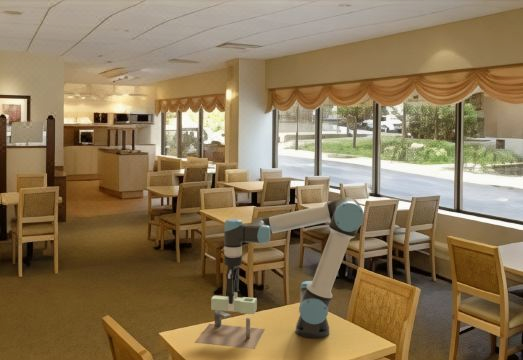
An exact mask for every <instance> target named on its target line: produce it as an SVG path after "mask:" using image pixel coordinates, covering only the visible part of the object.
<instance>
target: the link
mask: <svg viewBox="0 0 523 360" xmlns="http://www.w3.org/2000/svg"><path fill="white" fill-rule="evenodd" d="M257 298H258V297H246V296H243V297H238V296H237V297H235V310H234V311H231V312H234V313H239V314H248V315H255V313H256V311H257V310H258V307H257V306H258V299H257ZM210 302H211V303H210V305H211V307H210V308H211V309H210V310H211V311H216V310H217V311H222V312H230V311H229V310H228V296H226V295H225V296H224V295H213V296H212V297H211V298H210Z"/></svg>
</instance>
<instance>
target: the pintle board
mask: <svg viewBox="0 0 523 360" xmlns="http://www.w3.org/2000/svg"><path fill="white" fill-rule="evenodd" d="M231 316H232V314H229V313H228V312H226V311H220V310H214V323H209V324H208V325H207V327H205V328H204V330H203V331H202V333H200V335H199V336H198V337H197V338H196V340H195V341H194V343H195V344H205V345H213V346H222V347H234V348H241V349H251V350H252V349H253V350H255V349H256V347H257V345H258V343H259V341H260V339H261V338H262V336H263V334H264V331H265V330H266V328H259V327H258V328H257V327H251V318H250V317H246V318H245V326H239V325H238V326H237V325H229V324H227V325H226V324H222V318H224V319H229V318H231Z"/></svg>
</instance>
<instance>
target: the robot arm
mask: <svg viewBox="0 0 523 360" xmlns="http://www.w3.org/2000/svg"><path fill="white" fill-rule="evenodd" d="M364 217H365V215H364V210H363V208H362V206H361V205H360V203H359V202H358V201H357V200H356V199H354V198H353V197H349V196H348V197H347V196H345V197H340V198H337V199H334V200H330V201H325V203H324V204H322V205H319V206H314V207H309V208H305V209H299V210H295V211H292V212H287V213H283V214H276V215H273V216H269V217H258V218H256V219H254V220H253V221H252V223H251V224H245V223H244V224H243V220H242V219H240V218H229V219H226V220H225V221H224V230H223V233H224V235H223V236H224V237H223V238H224V239H223V243H224V247H223V248H222V249H223V250H224V252H223V253H224V256H223V262H224V263H223V264H224V265H225V266H227V267H228V269H227V271H226V274H225V276H226V294H225V296H226V297H228V310H229V311H228V312H232V311H234V310H235V297H238V292H240V289H239V288H240V287H239V286H240V284H239V283H240V266H241V265H242V263H243V261H242V260H243V256H242V255H243V243H251V244H268V243H270V242H271V235H272V234H276V233H281V232H285V231H291V230H295V229H300V228H305V227H310V226H315V225H320V224H323V223H329V224H328V228H329V230H330V233H329V234H328V238H327V241H326V244H325V246H324V249H323V251H322V254H321V257H320V259H319V262H318V264H317V267H316V270H315V272H314V277H312V278H313V279H312V280H306V281H302V282H301V284H300V288H299V289H300V298H299V300H300V301H299V306H298V307H299V316H298V319H297V322H296V325H295V333H296V334H297V335H299V336H301V337H304V338H308V339H321V338H325V337H328V336H329V335H330V325H329V322H328V318H327V317H328V314H329V307H330V304H331V302H332V300H333V296H334V295H333V293H332V289H333V286H334V283H335V281H336V277H337V275H338V273H339V269H340V267H341V264H342V262H343V260H344V257H345V255H346V252H347V249H348V246H349V244H350V241H351V239H353V238H355V237H356V236H357V233H358V230H359V228H360V227H361V226H362V224H363V223H364Z"/></svg>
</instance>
